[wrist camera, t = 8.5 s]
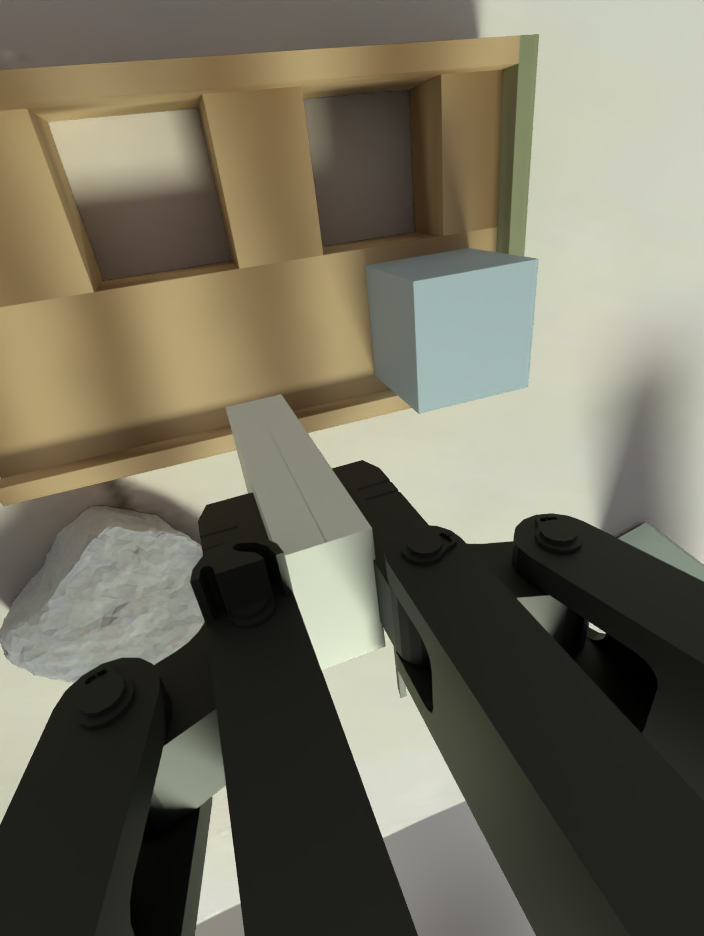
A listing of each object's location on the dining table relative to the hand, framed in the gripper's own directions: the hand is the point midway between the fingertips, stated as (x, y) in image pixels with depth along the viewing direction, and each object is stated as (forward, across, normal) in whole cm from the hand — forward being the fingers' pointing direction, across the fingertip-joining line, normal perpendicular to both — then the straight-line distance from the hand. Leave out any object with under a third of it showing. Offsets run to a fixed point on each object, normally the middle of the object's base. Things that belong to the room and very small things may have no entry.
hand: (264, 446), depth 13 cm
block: (+9, +9, 0) cm, 13 cm away
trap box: (+12, +2, +3) cm, 13 cm away
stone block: (+13, -7, -13) cm, 20 cm away
